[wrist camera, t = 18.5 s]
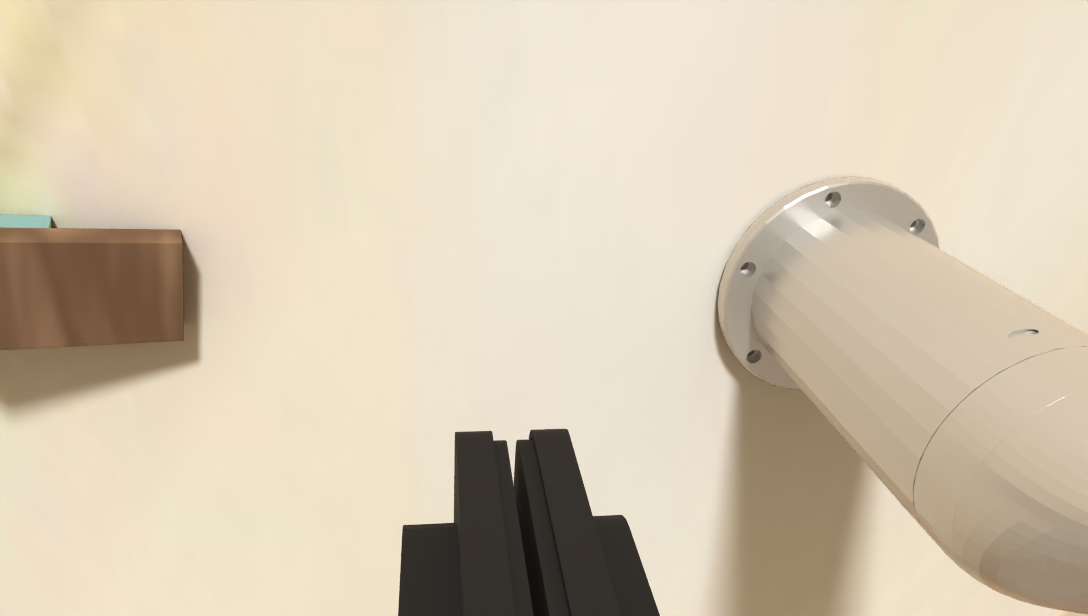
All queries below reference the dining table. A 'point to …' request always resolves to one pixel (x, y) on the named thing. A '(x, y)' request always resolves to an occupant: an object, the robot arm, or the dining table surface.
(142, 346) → the dining table surface
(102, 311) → the domino
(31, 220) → the domino
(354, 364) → the dining table surface
